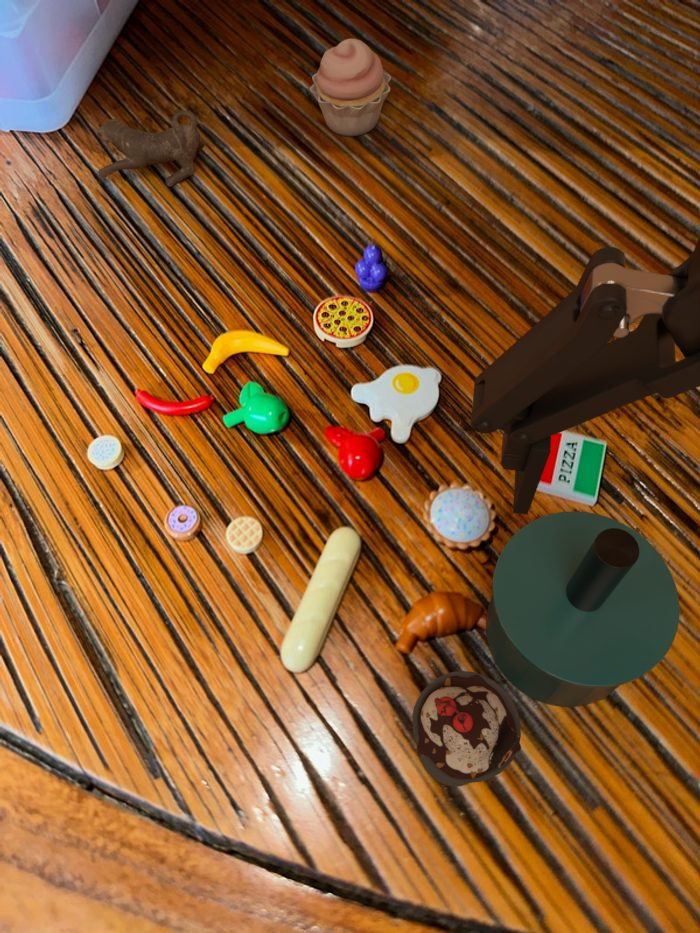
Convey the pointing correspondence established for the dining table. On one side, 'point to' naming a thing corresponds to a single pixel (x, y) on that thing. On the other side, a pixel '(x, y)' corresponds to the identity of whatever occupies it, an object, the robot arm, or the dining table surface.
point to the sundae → (465, 728)
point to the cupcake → (350, 88)
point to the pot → (534, 672)
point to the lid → (585, 599)
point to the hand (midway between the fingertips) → (653, 506)
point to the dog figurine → (154, 146)
